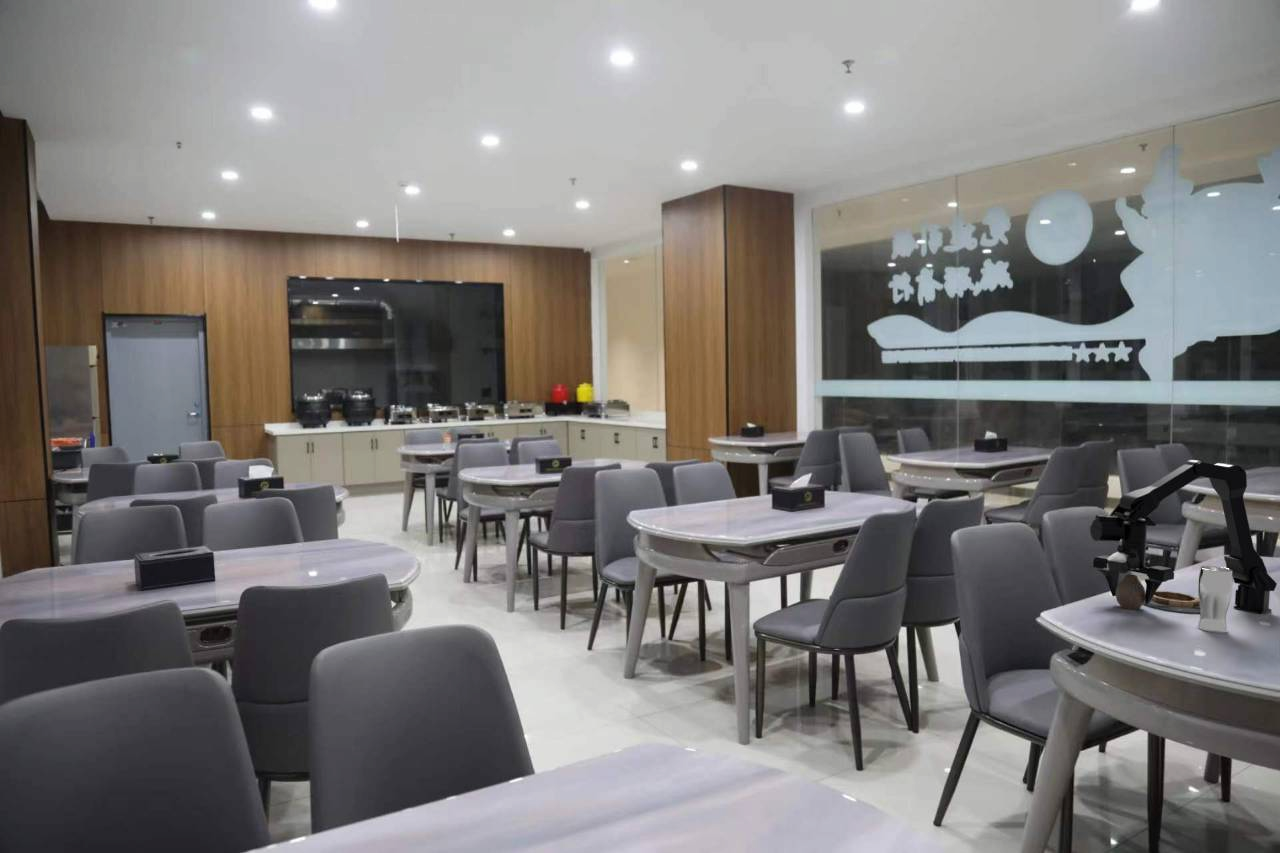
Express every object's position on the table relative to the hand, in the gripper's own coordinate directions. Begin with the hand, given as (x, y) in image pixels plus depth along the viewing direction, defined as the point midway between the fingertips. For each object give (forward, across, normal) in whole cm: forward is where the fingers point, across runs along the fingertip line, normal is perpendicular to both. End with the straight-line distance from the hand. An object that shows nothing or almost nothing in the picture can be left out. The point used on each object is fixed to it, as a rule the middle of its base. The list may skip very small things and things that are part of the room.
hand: (1130, 599), depth 227 cm
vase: (+2, 0, 0) cm, 2 cm away
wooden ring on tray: (+2, +4, +14) cm, 15 cm away
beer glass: (+2, +21, -2) cm, 21 cm away
